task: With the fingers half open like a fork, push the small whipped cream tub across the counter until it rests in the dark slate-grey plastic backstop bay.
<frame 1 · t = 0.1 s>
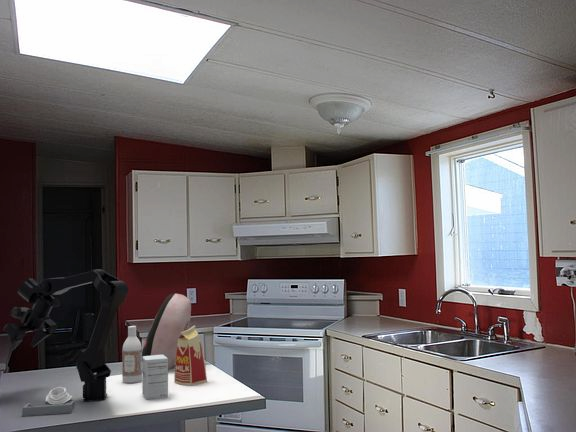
hand: (21, 348, 189), 15 cm above the worktop, fingers open, 9 cm apart
supplement box: (155, 396, 179), on the worktop
milk carton: (189, 382, 197), on the worktop
packaged food: (167, 367, 224), on the worktop
tray: (47, 414, 161), on the worktop
bath foam: (132, 381, 200), on the worktop
whipped cream: (59, 402, 175), on the worktop
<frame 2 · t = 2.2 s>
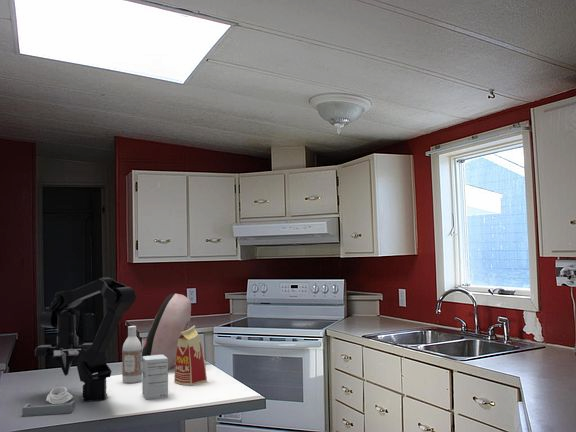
hand: (66, 375, 184), 6 cm above the worktop, fingers closed
nothing on the worktop moved.
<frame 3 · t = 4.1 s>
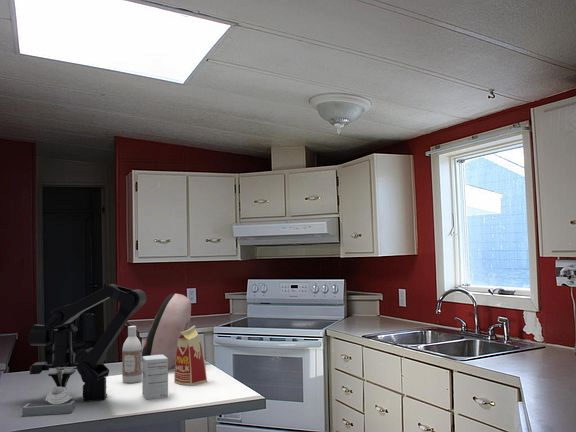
hand: (62, 393, 179), 2 cm above the worktop, fingers closed
whipped cream: (59, 402, 175), on the worktop, touching gripper
everything else where it was.
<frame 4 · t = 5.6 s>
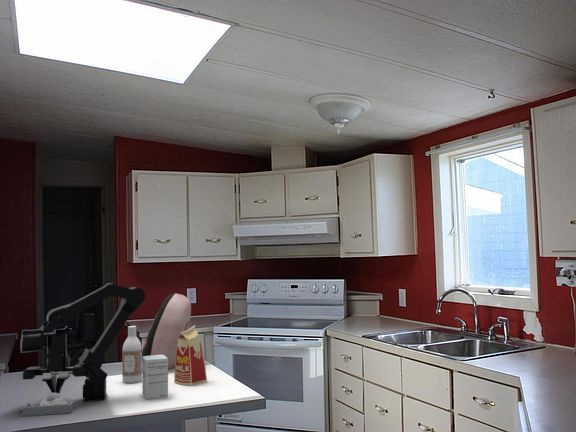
hand: (56, 399, 172), 2 cm above the worktop, fingers closed
whipped cream: (53, 409, 168), resting in tray
everything else where it was.
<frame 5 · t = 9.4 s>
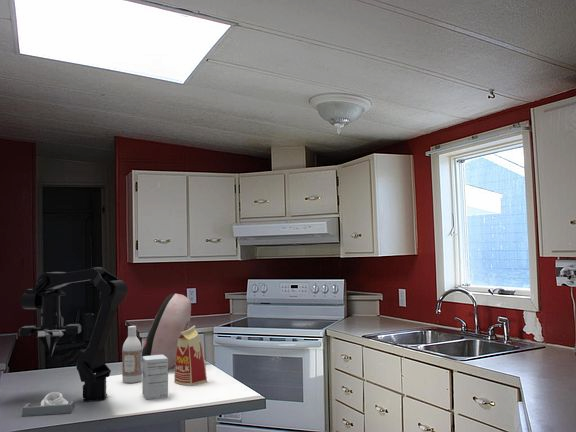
hand: (50, 356, 183), 13 cm above the worktop, fingers closed
nothing on the worktop moved.
at the end: whipped cream inside the target area on the tray (2.3 cm from its centre), point 0.0 cm above the tray's base; whipped cream tilted 1°; whipped cream moved 6.5 cm from its start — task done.
